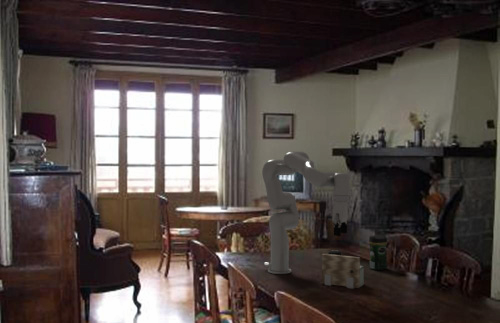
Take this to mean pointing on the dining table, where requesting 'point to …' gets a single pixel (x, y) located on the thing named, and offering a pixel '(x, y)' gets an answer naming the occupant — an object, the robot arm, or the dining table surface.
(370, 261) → the coffee jar
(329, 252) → the container
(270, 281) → the dining table surface
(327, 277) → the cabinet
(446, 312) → the dining table surface
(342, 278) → the beige thin block
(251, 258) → the dining table surface
